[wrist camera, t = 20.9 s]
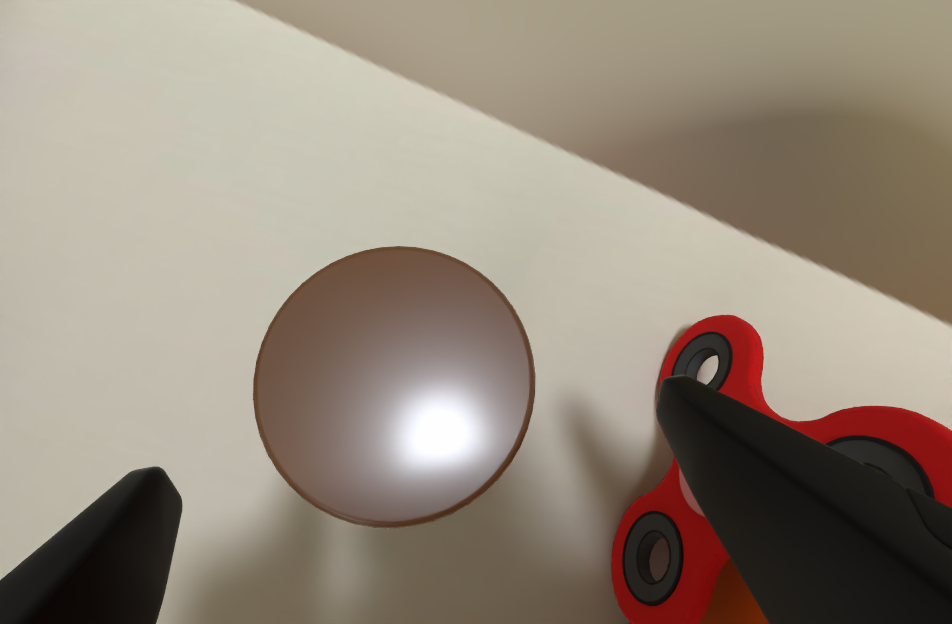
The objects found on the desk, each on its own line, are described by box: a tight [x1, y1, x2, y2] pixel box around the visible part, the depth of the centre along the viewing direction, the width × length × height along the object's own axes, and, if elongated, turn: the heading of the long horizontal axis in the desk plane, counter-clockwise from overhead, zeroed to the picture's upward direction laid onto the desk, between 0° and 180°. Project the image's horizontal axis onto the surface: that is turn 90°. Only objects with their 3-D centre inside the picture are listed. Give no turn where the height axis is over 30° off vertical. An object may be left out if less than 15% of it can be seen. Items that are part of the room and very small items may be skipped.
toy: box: [611, 315, 952, 624], centre depth 13 cm, size 10×10×1 cm
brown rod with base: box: [253, 246, 535, 528], centre depth 10 cm, size 3×3×14 cm
